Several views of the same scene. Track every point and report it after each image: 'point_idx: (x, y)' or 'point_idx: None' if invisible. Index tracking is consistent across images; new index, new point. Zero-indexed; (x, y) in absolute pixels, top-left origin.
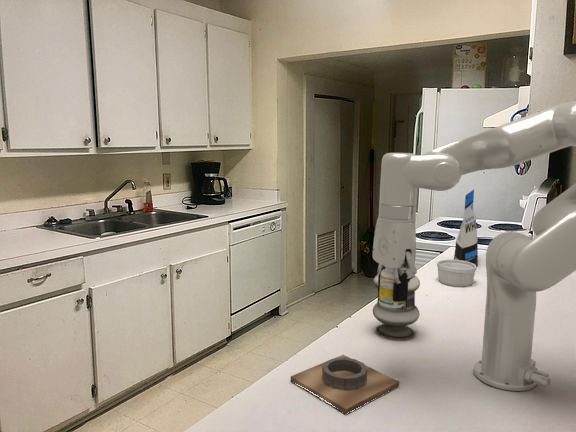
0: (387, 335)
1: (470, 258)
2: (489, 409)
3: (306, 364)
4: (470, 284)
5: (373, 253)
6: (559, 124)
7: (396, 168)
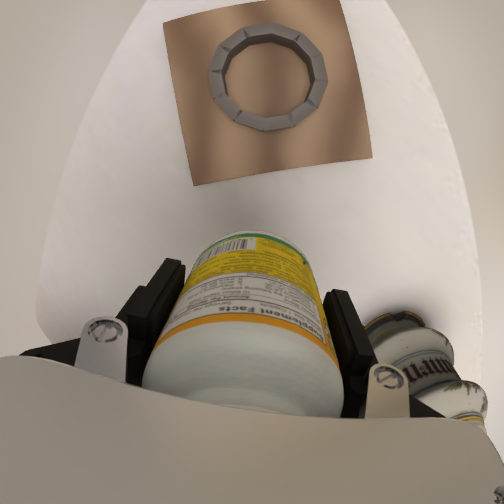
0: (386, 320)
1: None
2: (79, 272)
3: (388, 71)
4: None
5: (489, 465)
6: None
7: None
